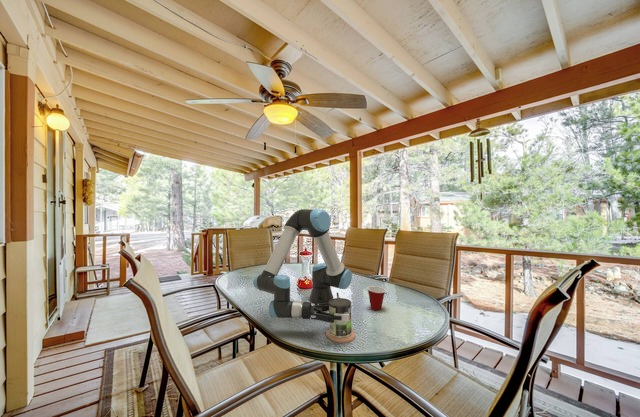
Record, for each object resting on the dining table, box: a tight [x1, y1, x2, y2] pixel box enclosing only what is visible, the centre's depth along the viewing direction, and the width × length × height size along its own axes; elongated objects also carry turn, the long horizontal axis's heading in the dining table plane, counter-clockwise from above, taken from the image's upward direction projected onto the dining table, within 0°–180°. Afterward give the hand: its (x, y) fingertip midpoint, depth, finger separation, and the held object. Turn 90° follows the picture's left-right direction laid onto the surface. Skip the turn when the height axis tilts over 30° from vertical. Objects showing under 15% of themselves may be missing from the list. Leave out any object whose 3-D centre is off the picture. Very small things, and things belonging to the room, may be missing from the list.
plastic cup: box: [366, 285, 387, 312], centre depth 152 cm, size 11×11×12 cm
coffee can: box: [328, 297, 353, 338], centre depth 119 cm, size 10×10×14 cm
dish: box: [326, 328, 356, 344], centre depth 120 cm, size 13×13×2 cm
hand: (349, 312), depth 119 cm, fingers open, 11 cm apart
